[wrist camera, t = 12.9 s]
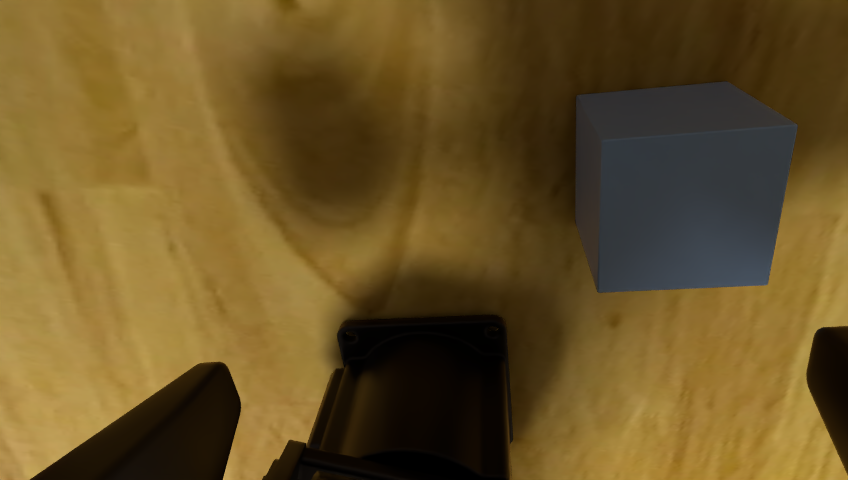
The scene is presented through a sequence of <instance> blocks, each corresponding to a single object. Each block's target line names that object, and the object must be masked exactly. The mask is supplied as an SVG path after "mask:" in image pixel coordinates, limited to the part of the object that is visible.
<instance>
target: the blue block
mask: <svg viewBox="0 0 848 480" xmlns="http://www.w3.org/2000/svg"><path fill="white" fill-rule="evenodd" d="M797 128H798V125H797V124H796V123H794V122H793V121H791V120H789V119H788V118H786V117H784V116H783V115H781V114H780V113H778V112H776V111H775V110H773V109H771V108H770V107H768V106H766V105H765V104H763V103H762V102H760V101H758V100H757V99H755V98H753V97H752V96H750V95H749V94H747V93H745V92H744V91H742V90H740V89H739V88H737V87H736V86H734V85H732V84H731V83H729V82H727V81H725V82H714V83H703V84H692V85H681V86H670V87H659V88H648V89H637V90H626V91H615V92H605V93H594V94H583V95H577V96H576V204H575V222H576V225H577V229H578V232H579V235H580V238H581V241H582V244H583V248H584V251H585V254H586V257H587V260H588V264H589V267H590V270H591V273H592V276H593V279H594V283H595V286H596V289H597V292H599V293H603V292H625V291H647V290H670V289H692V288H714V287H736V286H758V285H767V284H768V280H769V275H770V270H771V265H772V259H773V254H774V249H775V243H776V238H777V233H778V228H779V222H780V217H781V212H782V207H783V201H784V196H785V191H786V185H787V180H788V175H789V170H790V164H791V159H792V154H793V149H794V143H795V138H796V133H797Z"/></svg>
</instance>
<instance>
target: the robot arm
mask: <svg viewBox="0 0 848 480" xmlns="http://www.w3.org/2000/svg"><path fill="white" fill-rule="evenodd" d="M492 326H493V327H497V328H498V329H497V330H496V331H490V330H488V328H489V327H492ZM346 332H352V333H354V334H355V335H356V336H349V335H348V334H347V333H346ZM337 339H338V343H339V347H340V352H341V356H342V360H343V365H344V368H336V369H335V370H334V372H333V373H332V374H331V377H330V380H329V382H328V385H327V388H326V391H325V394H324V397H323V400H322V403H321V405H320V408H319V411H318V414H317V417H316V420H315V423H314V426H313V429H312V431H311V434H310V437H309V440H308V443H307V446H306V443H303V442H298V441H293V440H289V441H288V443H287V445H286V447H285V449H284V451H283V453H282V455H281V457H280V459H279V460H278V459H275V460H274V461H273V463H272V465H271V467H270V469H269V471H268V473H267V475H266V476H263V479H262V480H512V477H511V456H510V444H511V442H512V441H513V428H512V412H511V396H510V379H509V363H508V347H507V330H506V323H505V321H504V319H503V318H502V317H500V316H498V315H474V316H449V317H425V318H401V319H376V320H352V321H345V322H344V323H342V324H341V326H340V328H339V331H338V333H337ZM806 376H807V384H808V387H809V390H810V392H811V395H812V397H813V399H814V401H815V404H816V406H817V408H818V410H819V412H820V415H821V417H822V419H823V421H824V424H825V426H826V428H827V430H828V432H829V435H830V437H831V439H832V441H833V444H834V446H835V448H836V450H837V452H838V455H839V457H840V459H841V461H842V463H843V466H844V468H845V470H846V472H847V474H848V326H839V327H823V328H820V329H819V330H817V331H816V333H815V335H814V338H813V343H812V348H811V353H810V357H809V362H808V367H807V373H806ZM240 412H241V402H240V397H239V395H238V392H237V390H236V387H235V384H234V382H233V379H232V377H231V374H230V371H229V369H228V367H227V366H226V365H225V364H224V363H222V362H208V363H200V364H197V365H196V366H194V367H193V368H191V369H190V370H188V371H187V372H186V373H184V374H183V375H181V376H180V377H178V378H177V379H175V380H174V381H172V382H171V383H170V384H168V385H167V386H165V387H164V388H162V389H161V390H159V391H158V392H156V393H155V394H154V395H152V396H151V397H149V398H148V399H146V400H145V401H143V402H142V403H140V404H139V405H138V406H136V407H135V408H133V409H132V410H130V411H129V412H127V413H126V414H124V415H123V416H122V417H120V418H119V419H117V420H116V421H114V422H113V423H111V424H110V425H108V426H107V427H106V428H104V429H103V430H101V431H100V432H98V433H97V434H95V435H94V436H92V437H91V438H90V439H88V440H87V441H85V442H84V443H82V444H81V445H79V446H78V447H77V448H75V449H74V450H72V451H71V452H69V453H68V454H66V455H65V456H63V457H62V458H61V459H59V460H58V461H56V462H55V463H53V464H52V465H50V466H49V467H47V468H46V469H45V470H43V471H42V472H40V473H39V474H37V475H36V476H34V477H33V478H31V479H30V480H223V476H224V473H225V469H226V465H227V461H228V458H229V454H230V450H231V446H232V443H233V439H234V435H235V431H236V428H237V424H238V420H239V416H240Z"/></svg>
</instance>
